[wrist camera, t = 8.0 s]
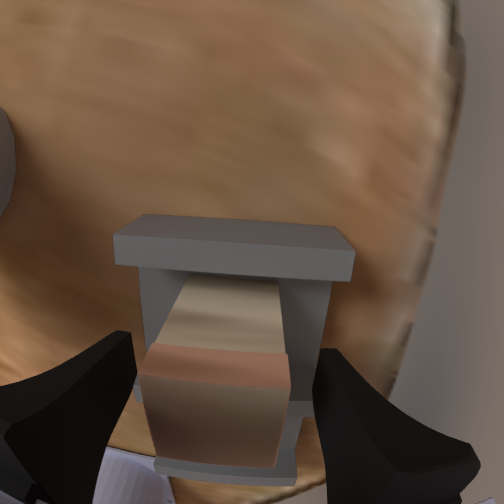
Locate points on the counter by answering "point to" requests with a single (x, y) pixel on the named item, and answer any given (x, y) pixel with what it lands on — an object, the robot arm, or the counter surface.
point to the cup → (6, 161)
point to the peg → (219, 375)
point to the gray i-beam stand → (242, 267)
